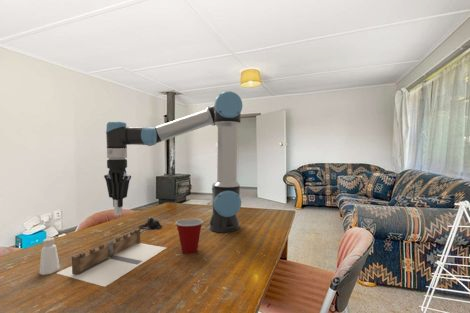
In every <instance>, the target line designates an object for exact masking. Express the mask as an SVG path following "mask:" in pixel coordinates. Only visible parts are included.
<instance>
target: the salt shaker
mask: <svg viewBox="0 0 470 313" xmlns="http://www.w3.org/2000/svg"><path fill="white" fill-rule="evenodd" d="M42 241H43V247H42V248H41V251H40V261H39V262H40V264H39V275H42V276H45V275H50V274H53V273H55V272H59V270H60V268H61V266H60V261H59V260H60V259H59V254H58V248H57V245H56V244H55V243H54V242H55V238H54V237H48V238H45V239H43V240H42Z"/></svg>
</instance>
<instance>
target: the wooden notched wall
mask: <svg viewBox="0 0 470 313" xmlns="http://www.w3.org/2000/svg"><path fill="white" fill-rule="evenodd" d="M140 232H141V228H136V229H134V230H133V231H132V230H131V231H130V232H129V234H127V233H126V234H123V235H122V238H121V237H116V238H115V241H113V240H110V241H107V243H106V246H108V257H112V256H114V255H115V254H117V253H119V252H121V251H123V250H125V249H127V248H129V247H131V246H132V245H134V244H136V243H141V233H140Z"/></svg>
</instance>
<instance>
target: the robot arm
mask: <svg viewBox="0 0 470 313" xmlns="http://www.w3.org/2000/svg"><path fill="white" fill-rule="evenodd" d="M242 111H243V101H242V99H241V97H240V95H238V93H236V92H233V91H232V90H231V91H230V90H227V91H226V90H225V91H222V92H220V93H219V95H218V96H216V98H215V100H214V103H213V104H212V105H210V106H207V107H206V109H204V110H202V111H199V112H195V113H193V114H190V115H186V116H183V117H181V118H177V119H175V120H173V121H172V120H171V121H169V122H166V123H162V124H160V125H157V126H153V127H152V126H151V127H150V126H127V123H126V122H123V121H115V120H114V121H108V122H107V124H106V131H105V134H106V136H105V137H106V158H107V160H106V168H107V169H108V172H107V174H104V176H103V178H104V179H105V182H106V188H107V192H108V198H111V199H112V202H113V203H112V205H113V215H114V216H120V215H122V214H123V205H124V203H123V202H124V200H123V199H125V198H127V197H128V191H129V186H130V181H131V178H132V176H131V175H128V174H127V170H126V169H127V168H128V160H127V158H128V148H127V147H128V146H129V145H130V146H131V145H133V146H137V145H139V146H142V145H143V146H148V147H151V146H154V145H156V144H159V143H161V142H164V141H168V140H169V139H172V138H175V137H178V136H182V135H184V134H187V133H190V132H193V131H196V130H198V129H202V128H204V127H208V126H216V127H217V159H216V160H217V166H216V168H217V173H216V174H217V176H216V177H217V180H216V182H215V183H213V184H212V185H211V192H212V193H211V194H212V196H211V197H212V198H211V199H212V215H211V218H210V221H209V230H210V231H212V232H216V233H231V232H235V231H237V230H238V229H240V221H239V218H238V215H237V213H238V212H239V211H240V209H241V207H242V199H241V194H240V193H241V192H240V186H241V185H240V183H239V182H238V180H237V161H238V158H237V156H238V155H237V154H238V151H237V148H238V127H239V126H241V112H242Z"/></svg>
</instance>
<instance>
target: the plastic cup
mask: <svg viewBox="0 0 470 313" xmlns="http://www.w3.org/2000/svg"><path fill="white" fill-rule="evenodd" d="M203 223H204V220H202V219H200V218H182V219H178V220H176V221H175V225H176V229H177V232H178V238H179V242H180V243H179V245H180V246H181V251H182V253H183V254H185V255H192V254H195V253H196V252H197V251H198V249H199V248H198V247H199V242H200V236H201V235H200V234H201V230H202V226H203Z"/></svg>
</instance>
